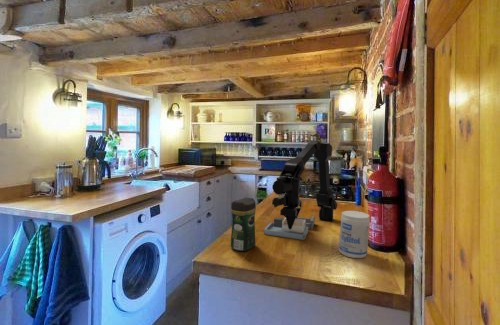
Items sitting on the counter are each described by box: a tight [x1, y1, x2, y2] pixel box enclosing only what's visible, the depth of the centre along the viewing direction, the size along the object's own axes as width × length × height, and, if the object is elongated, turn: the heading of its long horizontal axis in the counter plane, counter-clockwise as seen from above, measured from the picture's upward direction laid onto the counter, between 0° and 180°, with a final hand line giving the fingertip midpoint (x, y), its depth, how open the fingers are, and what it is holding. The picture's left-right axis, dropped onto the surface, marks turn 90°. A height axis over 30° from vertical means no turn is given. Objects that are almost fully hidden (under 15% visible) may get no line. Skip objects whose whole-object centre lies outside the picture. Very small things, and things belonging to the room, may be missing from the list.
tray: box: [263, 221, 309, 241], centre depth 119 cm, size 17×11×2 cm, turn 70°
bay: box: [297, 215, 315, 231], centre depth 129 cm, size 12×9×4 cm
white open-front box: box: [273, 216, 306, 233], centre depth 118 cm, size 13×6×4 cm, turn 70°
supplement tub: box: [338, 210, 371, 259], centre depth 98 cm, size 10×10×15 cm
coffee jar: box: [230, 196, 257, 252], centre depth 101 cm, size 10×8×19 cm
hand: (291, 226), depth 118 cm, fingers closed on white open-front box, 6 cm apart
